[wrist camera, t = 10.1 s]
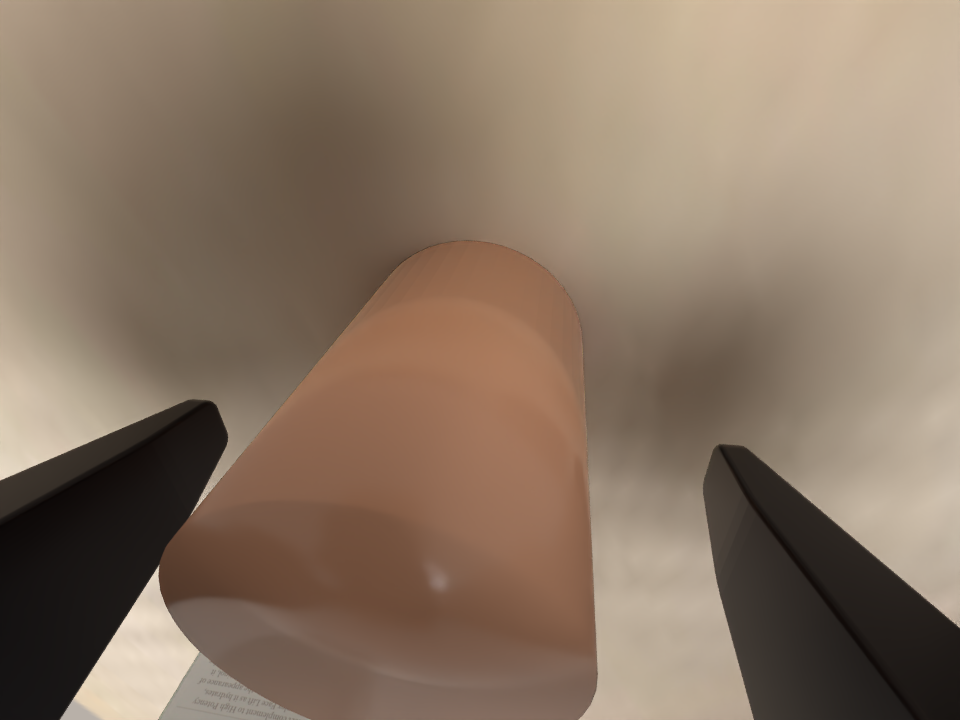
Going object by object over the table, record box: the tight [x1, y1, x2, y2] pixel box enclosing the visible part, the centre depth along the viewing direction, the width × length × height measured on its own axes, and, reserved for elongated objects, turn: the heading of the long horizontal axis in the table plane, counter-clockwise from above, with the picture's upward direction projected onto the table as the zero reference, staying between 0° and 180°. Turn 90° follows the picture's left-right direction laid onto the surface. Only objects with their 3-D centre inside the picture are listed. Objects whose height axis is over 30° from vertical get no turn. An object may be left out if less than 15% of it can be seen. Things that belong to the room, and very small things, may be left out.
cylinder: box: [159, 241, 598, 720], centre depth 8 cm, size 5×5×7 cm
